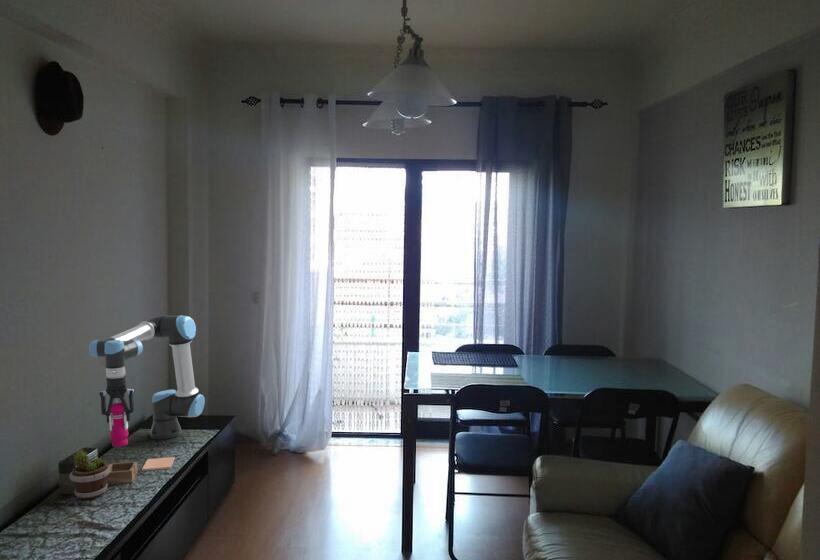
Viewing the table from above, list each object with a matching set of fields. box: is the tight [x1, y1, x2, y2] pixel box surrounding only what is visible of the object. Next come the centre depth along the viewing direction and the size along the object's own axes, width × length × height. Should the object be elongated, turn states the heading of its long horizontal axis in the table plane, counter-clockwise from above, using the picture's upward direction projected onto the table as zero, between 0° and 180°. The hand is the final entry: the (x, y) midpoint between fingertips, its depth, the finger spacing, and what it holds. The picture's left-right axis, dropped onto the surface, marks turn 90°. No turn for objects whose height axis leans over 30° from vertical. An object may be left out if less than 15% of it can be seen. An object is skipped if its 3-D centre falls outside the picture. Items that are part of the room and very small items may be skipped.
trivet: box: [141, 456, 176, 472], centre depth 287 cm, size 12×12×1 cm
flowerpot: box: [68, 447, 111, 500], centre depth 254 cm, size 14×15×20 cm
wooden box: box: [106, 461, 139, 485], centre depth 271 cm, size 11×11×5 cm
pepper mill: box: [109, 398, 129, 448], centre depth 269 cm, size 7×7×20 cm
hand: (119, 429), depth 270 cm, fingers closed on pepper mill, 5 cm apart
